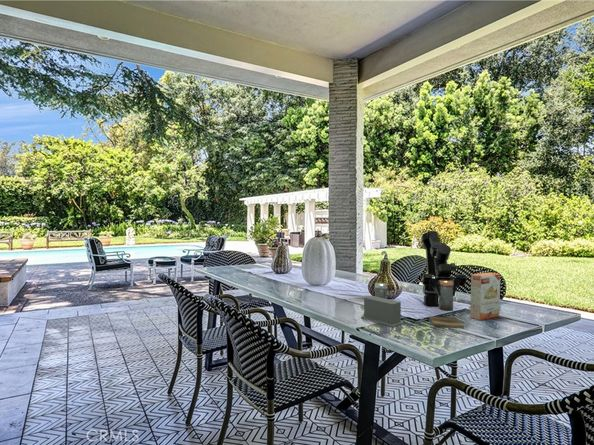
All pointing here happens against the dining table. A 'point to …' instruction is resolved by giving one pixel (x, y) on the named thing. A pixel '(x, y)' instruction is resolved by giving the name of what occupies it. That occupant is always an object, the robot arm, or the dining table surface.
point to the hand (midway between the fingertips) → (446, 295)
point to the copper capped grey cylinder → (446, 294)
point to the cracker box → (485, 296)
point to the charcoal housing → (382, 311)
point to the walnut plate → (446, 322)
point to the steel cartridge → (381, 290)
